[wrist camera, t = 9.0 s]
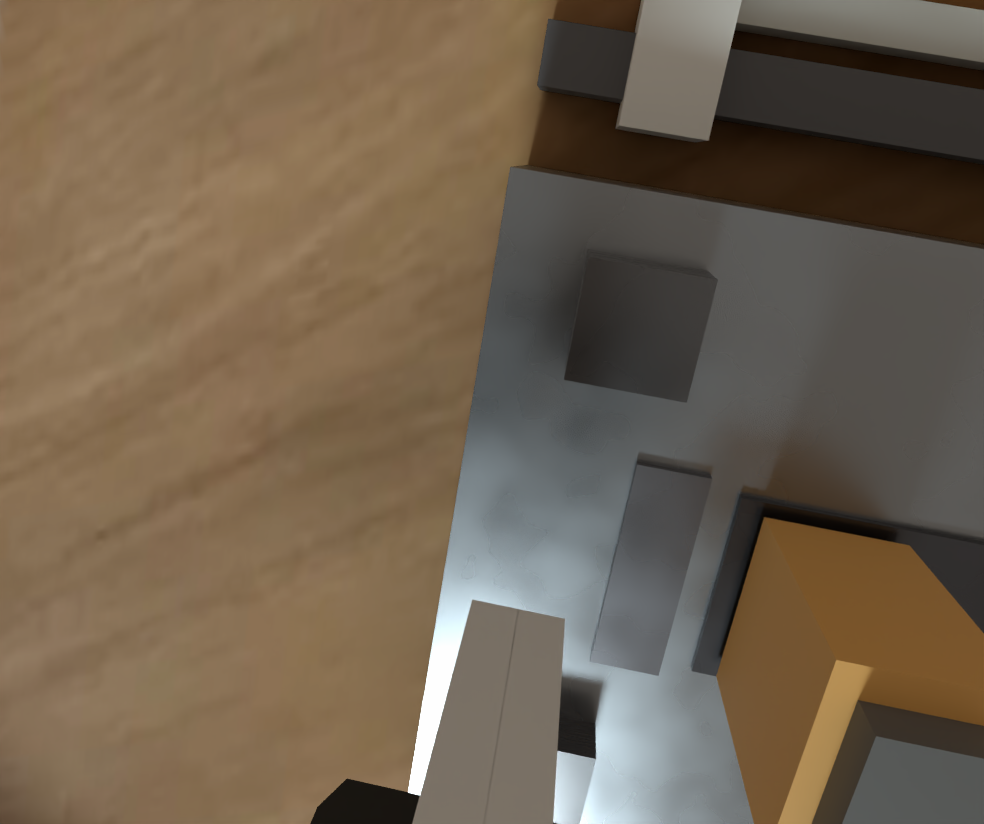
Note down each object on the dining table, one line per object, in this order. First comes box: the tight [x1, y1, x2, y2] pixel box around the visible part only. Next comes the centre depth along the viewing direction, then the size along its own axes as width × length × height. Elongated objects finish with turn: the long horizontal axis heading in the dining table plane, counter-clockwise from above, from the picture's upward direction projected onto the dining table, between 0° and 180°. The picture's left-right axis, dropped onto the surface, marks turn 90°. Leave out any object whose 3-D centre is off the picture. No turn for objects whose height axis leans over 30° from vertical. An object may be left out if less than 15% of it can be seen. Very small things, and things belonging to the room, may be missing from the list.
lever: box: [716, 517, 984, 824], centre depth 14 cm, size 3×4×6 cm
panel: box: [408, 165, 984, 824], centre depth 19 cm, size 24×16×6 cm, turn 81°
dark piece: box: [537, 0, 984, 165], centre depth 21 cm, size 24×26×2 cm
